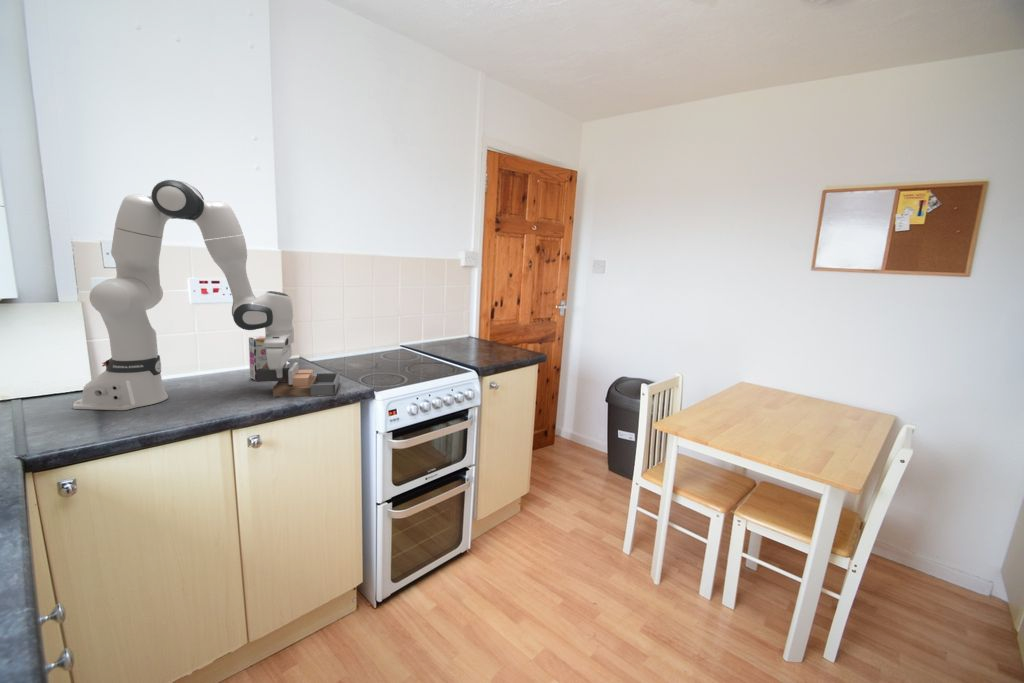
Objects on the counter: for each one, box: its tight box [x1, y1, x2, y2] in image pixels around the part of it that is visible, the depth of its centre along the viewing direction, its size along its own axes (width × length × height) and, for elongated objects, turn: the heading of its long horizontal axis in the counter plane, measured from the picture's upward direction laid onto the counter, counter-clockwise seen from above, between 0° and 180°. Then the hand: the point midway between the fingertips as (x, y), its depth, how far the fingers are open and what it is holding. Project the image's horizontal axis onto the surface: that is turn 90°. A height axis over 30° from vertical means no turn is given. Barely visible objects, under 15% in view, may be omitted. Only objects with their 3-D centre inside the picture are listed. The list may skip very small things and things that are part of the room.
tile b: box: [296, 369, 314, 381], centre depth 163 cm, size 5×5×3 cm
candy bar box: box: [248, 335, 269, 382], centre depth 171 cm, size 11×5×16 cm, turn 144°
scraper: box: [256, 362, 300, 385], centre depth 158 cm, size 12×12×5 cm
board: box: [272, 375, 317, 398], centre depth 160 cm, size 12×15×3 cm
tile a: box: [293, 374, 311, 386], centre depth 157 cm, size 5×5×3 cm
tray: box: [310, 372, 341, 397], centre depth 163 cm, size 8×16×4 cm, turn 16°
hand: (281, 375), depth 158 cm, fingers open, 3 cm apart
